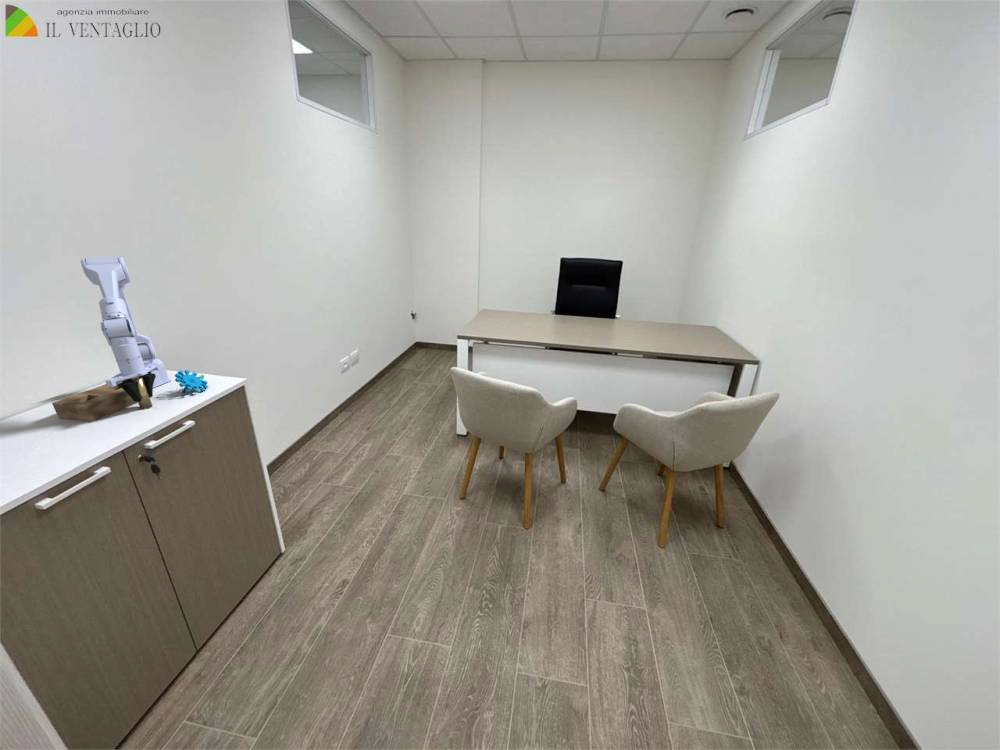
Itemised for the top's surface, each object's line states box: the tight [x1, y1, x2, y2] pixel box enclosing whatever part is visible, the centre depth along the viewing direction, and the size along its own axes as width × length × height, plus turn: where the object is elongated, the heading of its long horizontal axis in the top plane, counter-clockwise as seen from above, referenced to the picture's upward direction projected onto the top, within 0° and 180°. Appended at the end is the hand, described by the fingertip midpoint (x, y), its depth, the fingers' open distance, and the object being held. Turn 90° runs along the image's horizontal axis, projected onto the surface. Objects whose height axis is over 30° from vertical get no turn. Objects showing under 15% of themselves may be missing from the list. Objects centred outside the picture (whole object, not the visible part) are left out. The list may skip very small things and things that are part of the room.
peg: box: [132, 376, 153, 410], centre depth 123 cm, size 3×3×10 cm
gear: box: [174, 369, 209, 394], centre depth 136 cm, size 11×6×10 cm
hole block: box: [51, 383, 138, 423], centre depth 124 cm, size 18×12×5 cm, turn 170°
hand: (143, 398), depth 123 cm, fingers closed on peg, 3 cm apart
